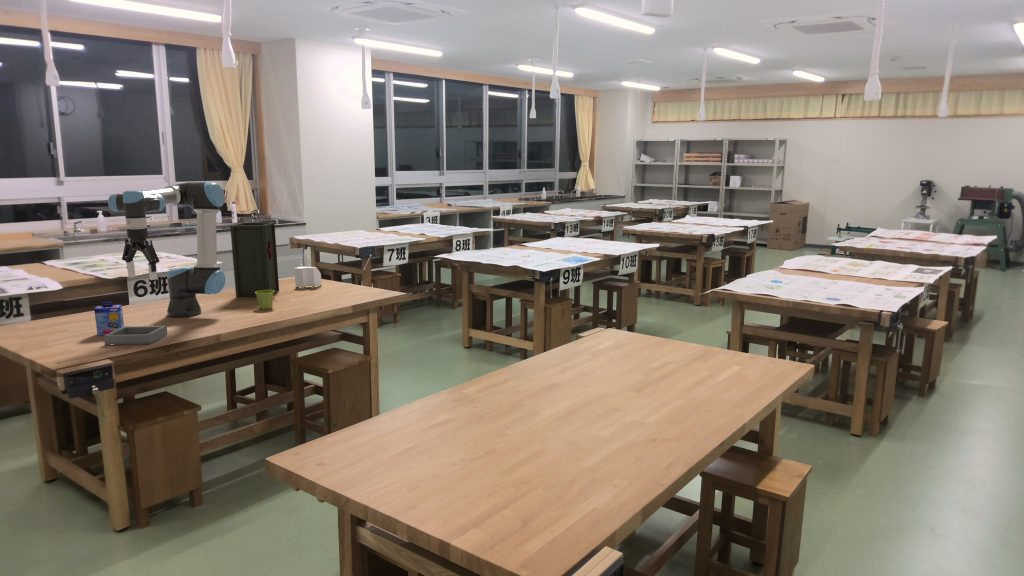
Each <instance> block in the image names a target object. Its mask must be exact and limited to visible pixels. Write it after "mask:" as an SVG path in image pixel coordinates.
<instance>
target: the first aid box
mask: <svg viewBox="0 0 1024 576" xmlns="http://www.w3.org/2000/svg"><path fill="white" fill-rule="evenodd" d="M229 228H230V237H231V241H230V242H231V249H232V250H231V252H232V263H233V265H232V266H233V276H234V290H235V298H236V297H246V298H257V296H256V293H255V292H256V291H260V290H274V293H275V294H277V293H278V292H280V282H279V271H278V270H279V268H278V253H277V239H276V224H275V222H240V223H236V224H232V225H229ZM277 291H278V292H277ZM276 292H277V293H276Z"/></svg>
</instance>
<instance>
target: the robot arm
mask: <svg viewBox="0 0 1024 576" xmlns="http://www.w3.org/2000/svg"><path fill="white" fill-rule="evenodd" d="M225 200H226V196H225V192H224V190H223V188H222V187H221V185H220V184H218V183H217V182H209V181H205V182H204V181H203V182H202V181H199V182H197V181H195V182H193V181H192V182H191V181H190V182H187V181H186V182H182V183H178V184H172V185H167V186H165V187H164V188H161V189H152V190H124V191H123V192H122V193H115V194H111V195H109V197H108V199H107V205H108V207H109V210H111V211H112V212H119V213H121V212H122V213H123V212H124V215H125V216H124V218H125V226H126V228H127V229H126V234H127V238H125V239H124V248H123V253H122V257H121V260H122V261H125V264H126V269H127V275H128V277H127V278H128V279H131V278H135V277H136V268H135V261H134V258H135V255H136V254H137V252H139V251H140V253H142V254H143V256H144V257H145V259H146V260H147V262H148V265H147V266H148V267H147V268H148V274H149V281H153V280H158V277H157V276H158V274H157V264H159V263H160V259H159V257H158V253H157V252H156V250H155V248H154V244H153V241H152V239H148V240H147V238H148V237H149V234H148V233H149V232H148V229H147V227H148V223H147V216H146V213H154V212H155V213H157V212H161V211H162V210H164V209H165V207H166V206H167V205H168V206H170V207H175V206H183V207H192V208H193V211H194V212H195V213H196V253H197V254H196V255H197V256H196V257H197V258H196V259H197V261H196V263H195V265H193V266H185V267H184V266H183V267H177V268H173V269H170V270H168V271H167V285H168V293H169V294H168V295H169V302H168V306H167V310H166V312H167V313H166V314H167V315H168V316H167V317H170V318H186V317H195V316H197V315H201V313H202V307H201V305H200V303H199V302H198V299H197V295H218V294H219V293H220V292H222V291H223V289H224V287H225V284H226V275H225V273H224V271H222V270H221V267H220V265H219V264H218V263H217V261H218V260H217V258H218V257H217V214H219V212H220V208H221V207H222V206H224V203H225V202H226V201H225Z"/></svg>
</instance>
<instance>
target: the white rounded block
mask: <svg viewBox="0 0 1024 576" xmlns="http://www.w3.org/2000/svg"><path fill="white" fill-rule="evenodd" d="M293 270H294V282H295V283H294V284H295V285H294V286H295V288H296V287H306V286H312V287H315V286H318V285H321V284H322V274H321V272H320V270H319V268H317V267H316V266H297V267H294V269H293ZM321 286H322V285H321ZM318 287H319V286H318ZM306 288H307V287H306ZM315 288H316V287H315Z"/></svg>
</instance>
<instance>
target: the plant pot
mask: <svg viewBox="0 0 1024 576" xmlns="http://www.w3.org/2000/svg"><path fill="white" fill-rule="evenodd" d="M255 293H256V296H257V297H256V299H257V303H258V306H259V309H261V310H265V309H267V310H268V309H272V308H273V299H274V295H275V294H274V290H260V291H256V292H255ZM273 294H274V295H273Z"/></svg>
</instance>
